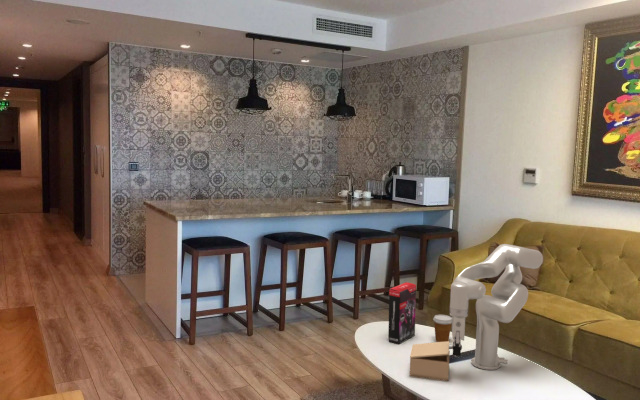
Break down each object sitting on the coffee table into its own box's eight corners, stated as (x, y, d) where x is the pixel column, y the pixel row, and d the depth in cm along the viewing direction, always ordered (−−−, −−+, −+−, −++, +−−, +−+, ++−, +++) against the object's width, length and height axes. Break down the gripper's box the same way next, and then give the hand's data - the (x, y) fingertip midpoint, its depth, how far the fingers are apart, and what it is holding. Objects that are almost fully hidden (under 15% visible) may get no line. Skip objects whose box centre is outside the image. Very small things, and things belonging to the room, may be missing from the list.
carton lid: (462, 345, 240) (461, 336, 240) (462, 357, 227) (461, 348, 226) (413, 349, 246) (412, 340, 246) (411, 361, 232) (409, 352, 232)
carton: (448, 367, 243) (449, 350, 242) (448, 381, 229) (449, 362, 228) (412, 363, 247) (413, 346, 246) (409, 376, 233) (410, 358, 232)
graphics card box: (398, 345, 268) (401, 291, 265) (386, 341, 272) (388, 288, 269) (415, 335, 281) (417, 284, 278) (403, 332, 285) (405, 281, 282)
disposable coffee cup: (428, 340, 275) (429, 317, 274) (438, 335, 282) (439, 313, 281) (445, 345, 269) (446, 322, 268) (455, 340, 276) (456, 317, 274)
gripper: (468, 318, 223) (465, 361, 225) (467, 306, 239) (465, 346, 241) (449, 317, 225) (447, 359, 227) (449, 304, 241) (447, 344, 243)
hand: (456, 352), depth 234 cm, fingers closed on carton lid, 4 cm apart
